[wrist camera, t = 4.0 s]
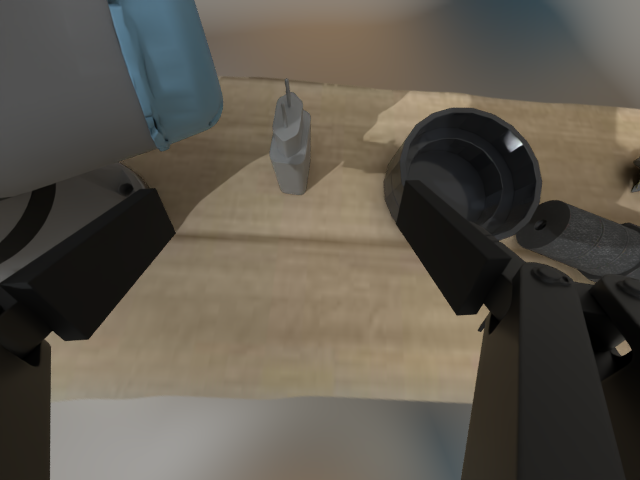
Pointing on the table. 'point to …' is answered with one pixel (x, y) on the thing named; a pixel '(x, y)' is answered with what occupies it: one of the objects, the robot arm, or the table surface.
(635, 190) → the drill bit
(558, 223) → the laser sight
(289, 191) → the grey skyscraper model
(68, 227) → the robot arm
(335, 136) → the table surface
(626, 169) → the table surface
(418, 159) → the bowl
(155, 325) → the table surface
